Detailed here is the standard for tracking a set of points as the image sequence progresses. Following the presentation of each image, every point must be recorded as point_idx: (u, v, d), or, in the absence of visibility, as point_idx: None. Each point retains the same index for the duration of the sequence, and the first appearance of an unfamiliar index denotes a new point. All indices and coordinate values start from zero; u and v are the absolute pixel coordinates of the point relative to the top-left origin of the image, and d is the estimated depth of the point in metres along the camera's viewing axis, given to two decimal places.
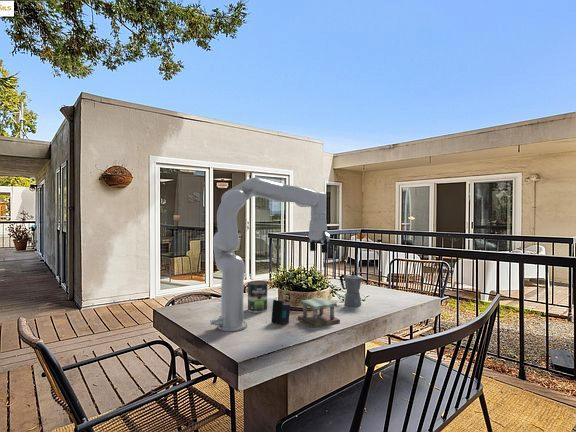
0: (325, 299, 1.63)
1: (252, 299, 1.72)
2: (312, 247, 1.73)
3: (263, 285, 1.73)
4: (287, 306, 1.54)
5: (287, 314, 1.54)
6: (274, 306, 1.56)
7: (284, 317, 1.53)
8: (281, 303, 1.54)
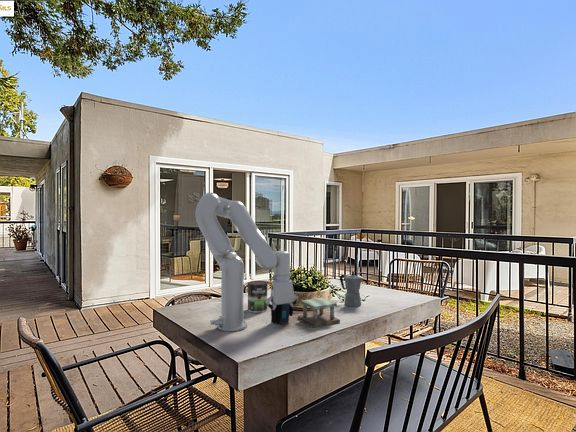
0: (325, 299, 1.63)
1: (252, 299, 1.72)
2: None
3: (263, 285, 1.73)
4: (287, 306, 1.54)
5: (287, 314, 1.54)
6: None
7: (283, 317, 1.53)
8: None
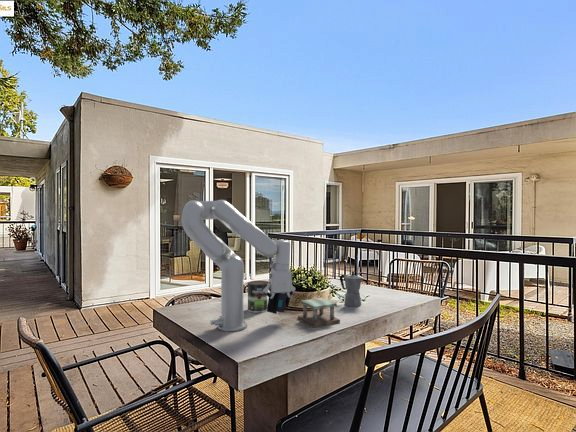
0: (325, 299, 1.63)
1: (252, 299, 1.72)
2: None
3: (263, 285, 1.73)
4: (283, 295, 1.54)
5: (283, 303, 1.53)
6: None
7: (279, 306, 1.53)
8: None
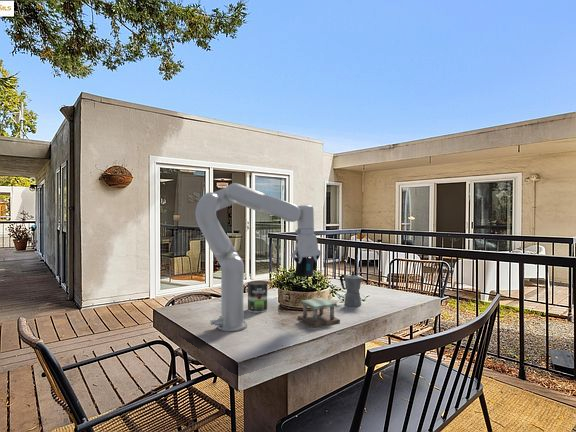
0: (325, 299, 1.63)
1: (252, 299, 1.72)
2: None
3: (263, 285, 1.73)
4: (311, 259, 1.55)
5: (311, 267, 1.55)
6: None
7: (308, 270, 1.54)
8: None
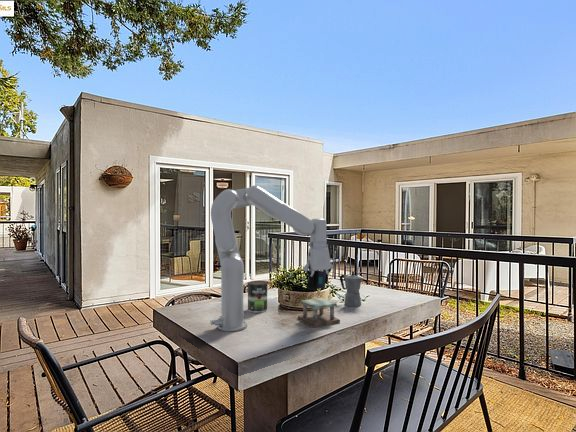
0: (325, 299, 1.63)
1: (252, 299, 1.72)
2: None
3: (263, 285, 1.73)
4: (323, 272, 1.56)
5: (323, 280, 1.56)
6: None
7: (320, 283, 1.55)
8: None
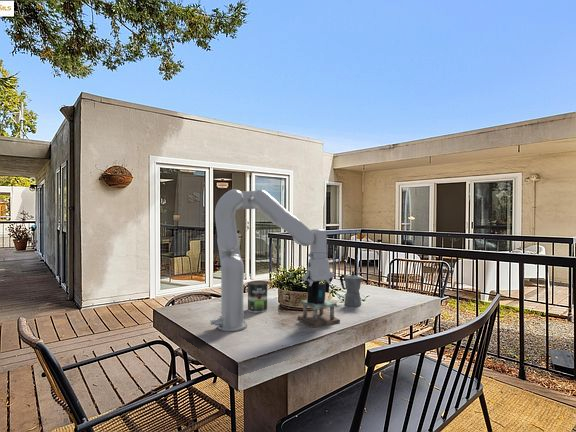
0: (325, 299, 1.63)
1: (252, 299, 1.72)
2: None
3: (263, 285, 1.73)
4: (323, 286, 1.56)
5: (323, 294, 1.56)
6: None
7: (320, 297, 1.55)
8: (317, 283, 1.56)
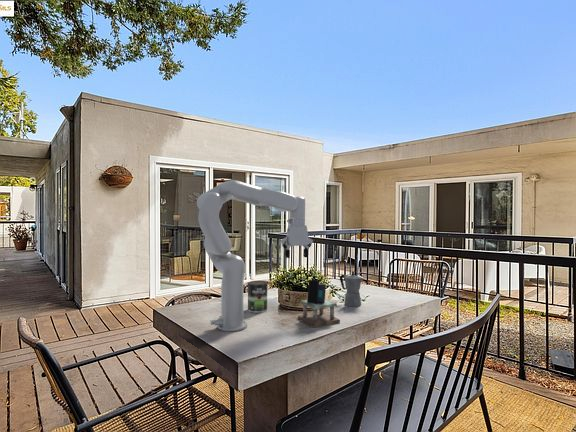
0: (325, 299, 1.63)
1: (252, 299, 1.72)
2: None
3: (263, 285, 1.73)
4: (323, 286, 1.56)
5: (323, 294, 1.56)
6: (310, 286, 1.58)
7: (320, 297, 1.55)
8: (317, 283, 1.56)
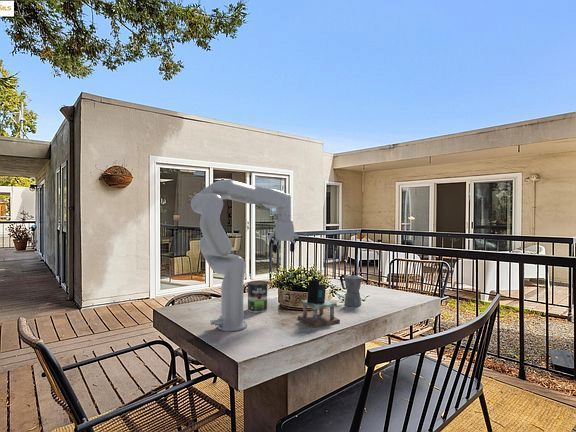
0: (325, 299, 1.63)
1: (252, 299, 1.72)
2: None
3: (263, 285, 1.73)
4: (323, 286, 1.56)
5: (323, 294, 1.56)
6: (310, 286, 1.58)
7: (320, 297, 1.55)
8: (317, 283, 1.56)
